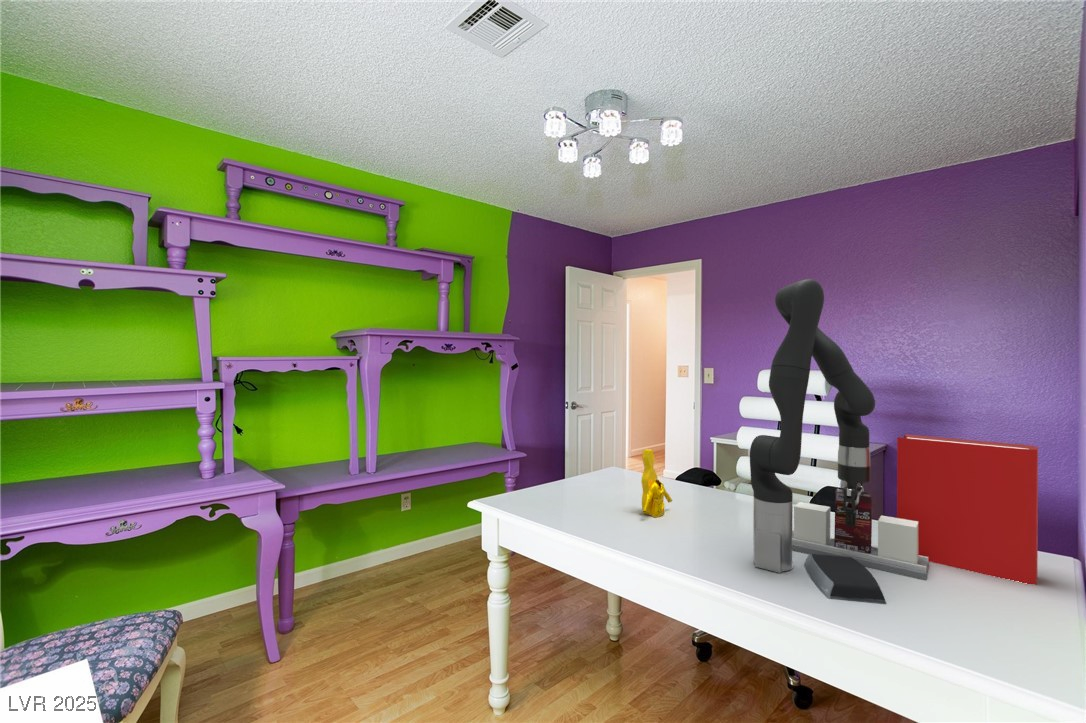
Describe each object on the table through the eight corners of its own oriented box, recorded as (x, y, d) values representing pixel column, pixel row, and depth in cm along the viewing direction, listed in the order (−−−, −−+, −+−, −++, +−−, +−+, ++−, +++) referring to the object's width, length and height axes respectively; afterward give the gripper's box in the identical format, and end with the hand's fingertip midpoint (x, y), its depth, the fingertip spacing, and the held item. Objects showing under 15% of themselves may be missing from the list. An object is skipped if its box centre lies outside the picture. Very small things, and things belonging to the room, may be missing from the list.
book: (896, 554, 139) (897, 437, 138) (903, 546, 144) (904, 434, 144) (1036, 586, 119) (1036, 450, 119) (1037, 576, 124) (1038, 446, 124)
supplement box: (834, 550, 137) (834, 492, 137) (834, 545, 141) (835, 488, 141) (872, 557, 132) (872, 496, 132) (871, 551, 136) (872, 492, 136)
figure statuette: (649, 522, 165) (649, 455, 165) (629, 517, 171) (629, 452, 170) (676, 510, 178) (677, 448, 178) (657, 506, 183) (657, 445, 183)
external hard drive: (824, 600, 113) (824, 582, 113) (800, 565, 132) (801, 550, 132) (890, 606, 110) (890, 588, 110) (856, 570, 129) (856, 554, 129)
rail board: (925, 580, 122) (925, 532, 122) (783, 548, 143) (783, 507, 143) (928, 564, 131) (928, 520, 131) (794, 536, 152) (794, 498, 152)
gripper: (865, 468, 129) (865, 532, 129) (874, 460, 140) (873, 519, 140) (832, 464, 134) (832, 526, 134) (843, 457, 145) (842, 514, 145)
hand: (853, 522), depth 137 cm, fingers open, 8 cm apart
